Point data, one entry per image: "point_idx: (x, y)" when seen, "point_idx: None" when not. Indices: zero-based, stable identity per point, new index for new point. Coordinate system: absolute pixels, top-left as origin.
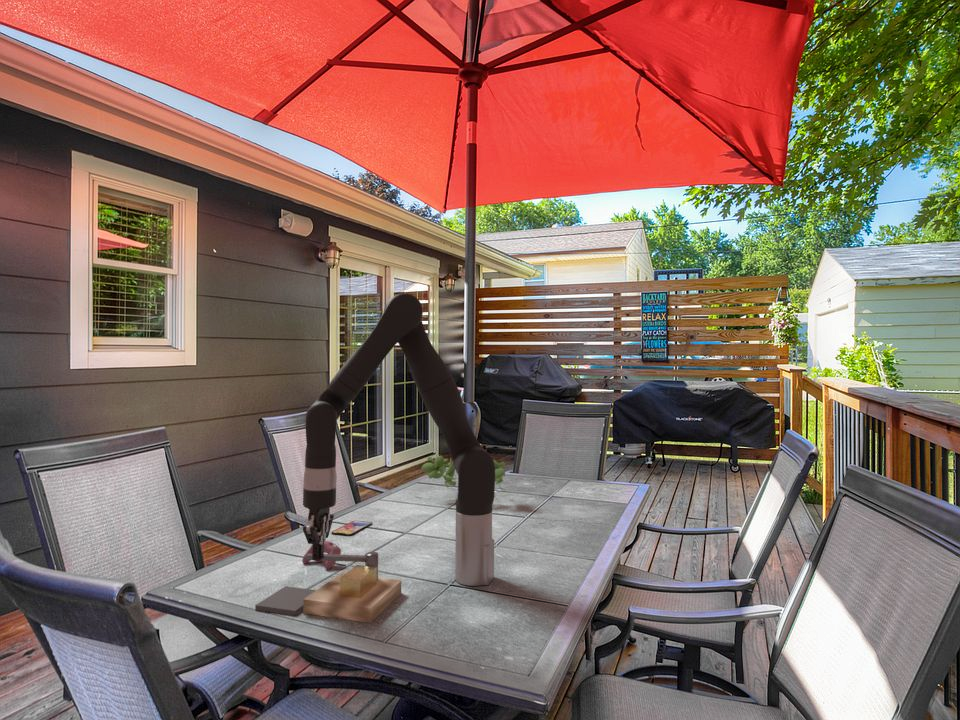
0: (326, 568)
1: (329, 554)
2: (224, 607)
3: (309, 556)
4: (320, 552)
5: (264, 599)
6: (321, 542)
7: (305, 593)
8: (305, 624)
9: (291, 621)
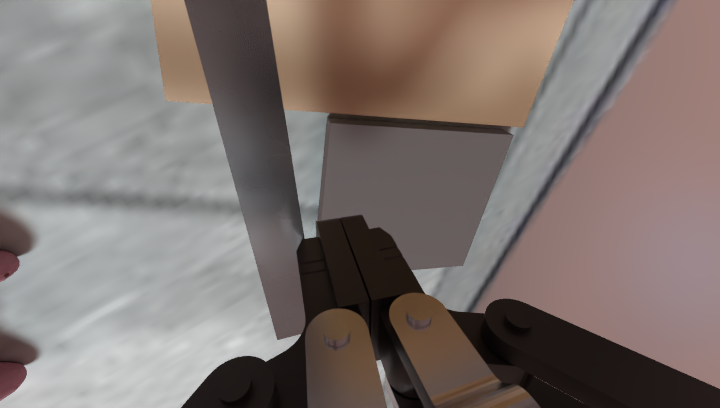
0: (16, 258)
1: (249, 211)
2: None
3: None
4: (377, 252)
5: (426, 268)
6: (428, 313)
7: (367, 180)
8: (570, 58)
9: (540, 119)
